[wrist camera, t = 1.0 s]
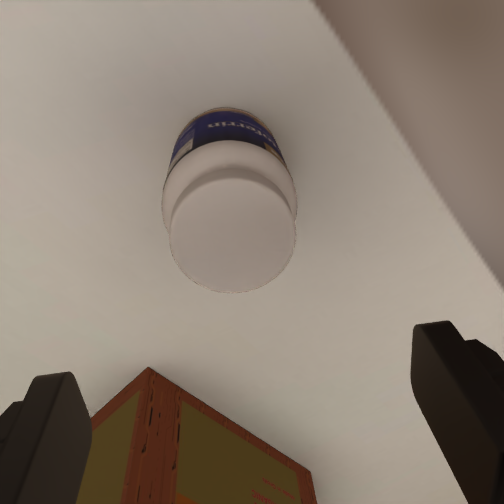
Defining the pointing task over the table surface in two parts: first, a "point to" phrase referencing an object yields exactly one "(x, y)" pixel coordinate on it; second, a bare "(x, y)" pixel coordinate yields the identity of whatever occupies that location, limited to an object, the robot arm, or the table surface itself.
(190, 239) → the pill bottle
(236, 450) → the box
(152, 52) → the table surface
